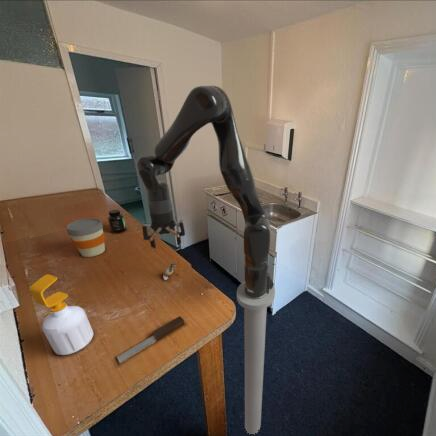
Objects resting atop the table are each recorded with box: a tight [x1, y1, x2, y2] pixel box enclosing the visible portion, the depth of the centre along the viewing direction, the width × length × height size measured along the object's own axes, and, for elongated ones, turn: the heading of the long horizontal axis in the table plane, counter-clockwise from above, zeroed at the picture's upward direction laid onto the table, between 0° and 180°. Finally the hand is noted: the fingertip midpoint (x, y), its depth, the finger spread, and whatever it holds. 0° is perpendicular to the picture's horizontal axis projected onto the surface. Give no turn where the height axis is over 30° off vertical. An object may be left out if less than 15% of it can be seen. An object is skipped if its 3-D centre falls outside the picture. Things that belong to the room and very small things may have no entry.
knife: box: [116, 315, 185, 364], centre depth 73 cm, size 19×3×2 cm, turn 139°
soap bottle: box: [29, 273, 94, 356], centre depth 66 cm, size 9×9×25 cm
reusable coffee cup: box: [66, 217, 106, 258], centre depth 109 cm, size 13×13×15 cm
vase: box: [162, 262, 177, 281], centre depth 100 cm, size 5×5×6 cm
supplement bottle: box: [107, 209, 127, 234], centre depth 128 cm, size 7×7×12 cm
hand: (166, 245), depth 93 cm, fingers open, 8 cm apart
